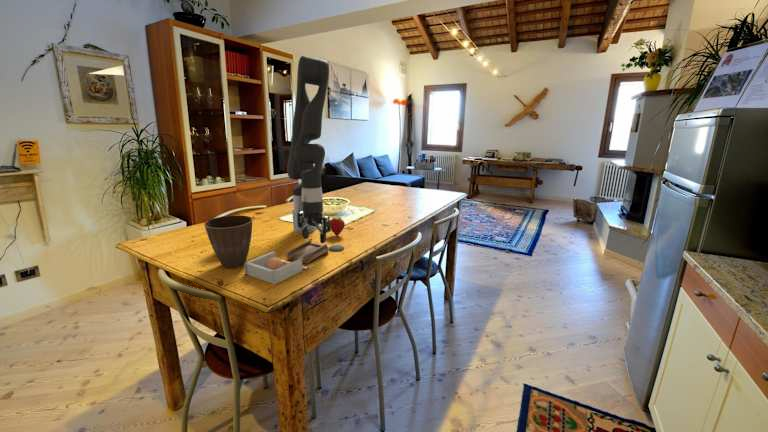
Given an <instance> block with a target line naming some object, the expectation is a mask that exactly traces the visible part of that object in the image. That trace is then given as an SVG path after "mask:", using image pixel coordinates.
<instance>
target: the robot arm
mask: <svg viewBox="0 0 768 432" xmlns="http://www.w3.org/2000/svg"><path fill="white" fill-rule="evenodd" d="M329 76H330V64H329V62H328V61H327V60H325V59H322V58H318V57H317V58H316V57H313V56H306V55H301V56H300V57H299V60H298V65H297V79H296V98H295V105H294V106H295V107H294V113H293V118H292V119H293V121H292V133H291V142H290V149H289V154H288V160H287V166H286V167H287V169H286V170H287V171H286V172H287V176H288V178H289V179H291V180H296V181H297V180H301V183H299V184H298V185H296V186H294V187H293V188H292V203H293V209H292V222H293V223H292V225H293V226H292V227H293V231H295V232H296V233H298V234H302V239H304V240H308V239H309V237H310V236H309V233H313V232H315V231H316V230H318V231H319V241H320V243H319V244H326V242H327V234H328V233H329V232H332V230H331V229H330V220H331V219H330V218H331V217H330V216H329V215H326V216H323V211H324V203H323V202H324V196H323V195H324V194H323V189H322V171H323V170H322V169H323V164H324V161H325V157H326V149H325V148H324V146H323V145H322V144H321V143H311V142H312V141H315V140H318V139H320V138H321V136H322V125H323V112H324V107H325V101H326V97H327V96H326V95H327V91H328V90H327V89H328V86H329V84H328V83H329V79H330V77H329ZM306 84H307V85H311V86H312V85H313V86H316V87H317V86H318V89H317V91H316V94H315V95H314V96H313V98H312V99H311V100H310V98H309V95H308V93H307V89H306V88H307V87H306Z"/></svg>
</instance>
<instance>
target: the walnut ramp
mask: <svg viewBox="0 0 768 432" xmlns="http://www.w3.org/2000/svg"><path fill="white" fill-rule="evenodd" d="M321 255H325V256H328V255H329V246H328V244H327V243H323V244H322V243H316V242H312V240H311V239H309V240H307V241H305V242H303V243H301V244H300V245H298V246H296V247H294V248H291V250H288V251H287V252H286V254H285V258H286V259H288V260H293V261H296V260H298V259H302V264H306V265H307V264H308V263H310V262H312V261H314V260H315V259H317V258H318V257H320V256H321Z"/></svg>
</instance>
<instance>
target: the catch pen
mask: <svg viewBox="0 0 768 432" xmlns="http://www.w3.org/2000/svg"><path fill="white" fill-rule="evenodd" d="M274 257H277V254H276V251H270V252H268V253H265V254H263V255H261V256H258V257H256V258H253V259H251V260H248V261H246V262H245V263H244V265H243V266H244V272H245V273H244V274H245V275H247V276H249V277H253V278H255V279H259V280H261V281H265V282H267V283H269V284H273V285H277V284H278V283H281V282H283V281H284V280H287V279H289V278H290V277H292V276H294V275H295V276H296V275H297V274H299V273H301V272H302V271H303V270H304V268H302V266H303V263H302V259H298V260H296V261H295V260H293V261H290V262H291V263H289V264H288V263H286V264H285V265H283V266H282V267H281V268H278V269H276V270H272V269H269V268H267V263H268V261H269V260H270V259H271V258H274Z"/></svg>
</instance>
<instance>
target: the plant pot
mask: <svg viewBox="0 0 768 432" xmlns="http://www.w3.org/2000/svg"><path fill="white" fill-rule="evenodd" d="M204 227H205V230H206V235H207V237H208V240H209V243H210V245H211V247H212V249H213V252H214V254H215V255H216V257H217V259H218V261H219V263H220V264H221V266H222V267H223V268H225V269H236V268H237V269H238V268H240V267H242V266H245V265H244V263H245V262H247V259H248V255H249V251H250V246H251V241H252V240H251V239H252V234H253V233H252V232H253V217H250V216H249V215H248V216H247V215H242V214H241V215H240V214H236V215H232V214H231V215H225V216H218V217H214V218H211V219H208V220H206V221H205V222H204Z"/></svg>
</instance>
